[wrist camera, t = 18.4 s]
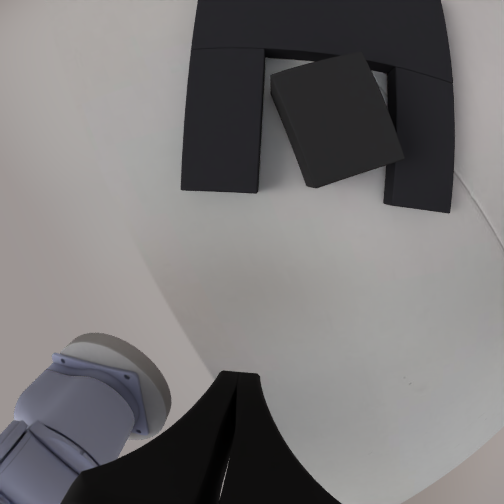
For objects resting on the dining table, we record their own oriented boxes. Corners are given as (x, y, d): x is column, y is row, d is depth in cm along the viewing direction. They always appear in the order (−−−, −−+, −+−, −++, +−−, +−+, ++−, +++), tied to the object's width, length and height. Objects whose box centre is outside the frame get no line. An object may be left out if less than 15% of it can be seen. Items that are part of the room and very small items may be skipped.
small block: (382, 161, 17) (405, 159, 14) (306, 186, 18) (315, 188, 14) (346, 71, 16) (362, 50, 12) (270, 93, 16) (269, 74, 13)
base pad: (439, 210, 17) (450, 213, 16) (187, 189, 18) (180, 190, 17) (430, 1, 14) (439, -7, 12) (208, -29, 14) (204, -40, 13)
